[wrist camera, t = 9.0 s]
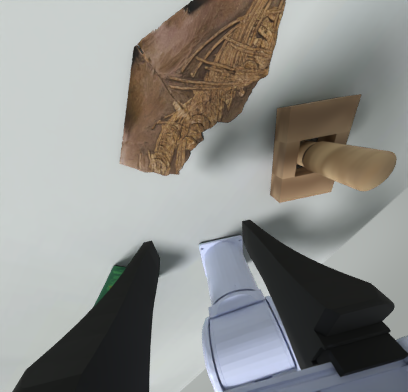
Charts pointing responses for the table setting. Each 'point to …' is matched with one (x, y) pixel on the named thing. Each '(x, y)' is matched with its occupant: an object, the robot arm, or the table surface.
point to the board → (302, 130)
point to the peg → (347, 163)
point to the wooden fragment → (195, 77)
